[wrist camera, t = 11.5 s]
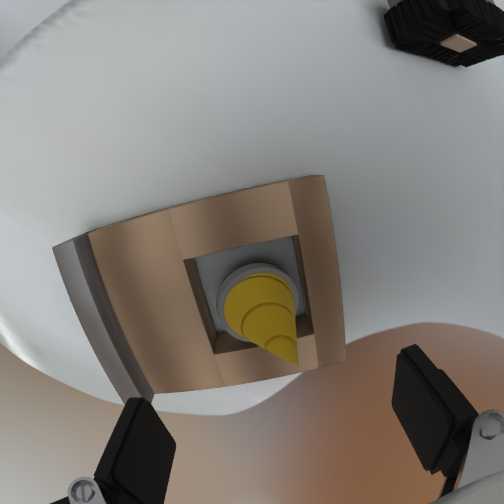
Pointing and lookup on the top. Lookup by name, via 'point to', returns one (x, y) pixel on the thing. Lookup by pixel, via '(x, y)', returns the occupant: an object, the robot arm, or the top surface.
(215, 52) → the top surface
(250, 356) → the jig
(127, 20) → the top surface
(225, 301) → the drill bit
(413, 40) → the cpu cooler
